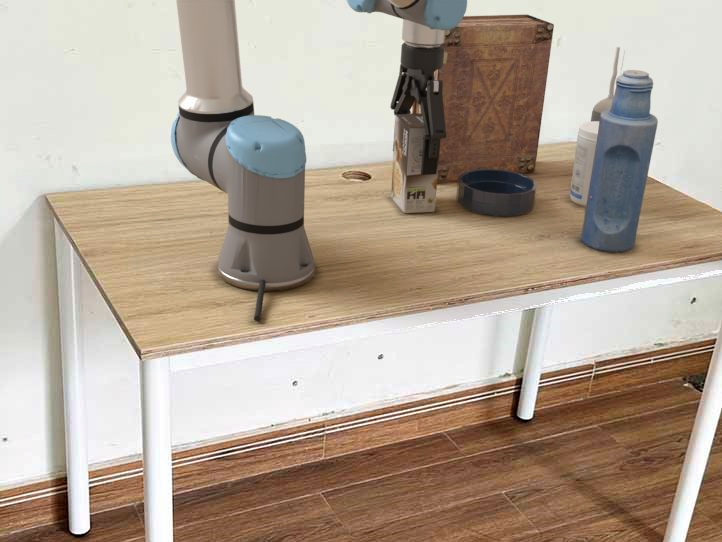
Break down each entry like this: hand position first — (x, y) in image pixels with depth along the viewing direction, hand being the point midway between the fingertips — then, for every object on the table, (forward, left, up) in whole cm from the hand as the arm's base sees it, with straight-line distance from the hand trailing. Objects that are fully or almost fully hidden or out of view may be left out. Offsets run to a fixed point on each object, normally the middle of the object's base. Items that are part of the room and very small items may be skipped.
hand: (414, 162), depth 195 cm
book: (+16, -20, -8) cm, 27 cm away
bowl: (-3, -16, -8) cm, 18 cm away
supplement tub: (-6, -36, -8) cm, 38 cm away
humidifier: (+13, -49, -8) cm, 52 cm away
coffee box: (0, 0, -8) cm, 8 cm away
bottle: (-26, -27, -8) cm, 39 cm away
